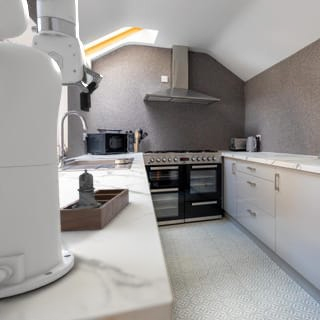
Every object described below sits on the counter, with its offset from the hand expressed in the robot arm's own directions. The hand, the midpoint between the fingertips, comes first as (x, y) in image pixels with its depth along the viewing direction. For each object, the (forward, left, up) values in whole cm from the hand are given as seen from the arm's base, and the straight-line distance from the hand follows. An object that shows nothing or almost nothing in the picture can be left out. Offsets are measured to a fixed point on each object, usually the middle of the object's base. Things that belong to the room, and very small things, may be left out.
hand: (62, 110), depth 59 cm
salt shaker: (-2, -5, -25) cm, 26 cm away
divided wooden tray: (+5, -5, -26) cm, 27 cm away
